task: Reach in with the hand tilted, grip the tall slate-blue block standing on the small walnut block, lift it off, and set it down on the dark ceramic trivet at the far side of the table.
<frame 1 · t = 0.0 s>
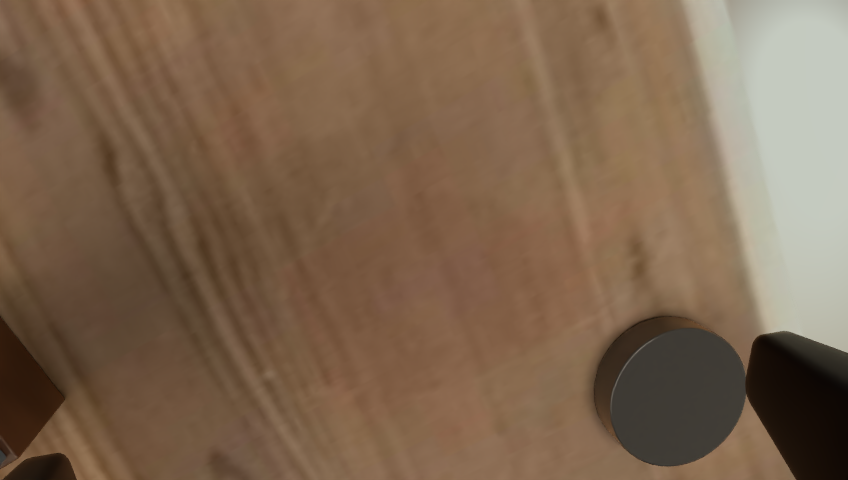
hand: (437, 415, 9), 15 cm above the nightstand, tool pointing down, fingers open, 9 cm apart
trivet: (659, 383, 27), on the nightstand
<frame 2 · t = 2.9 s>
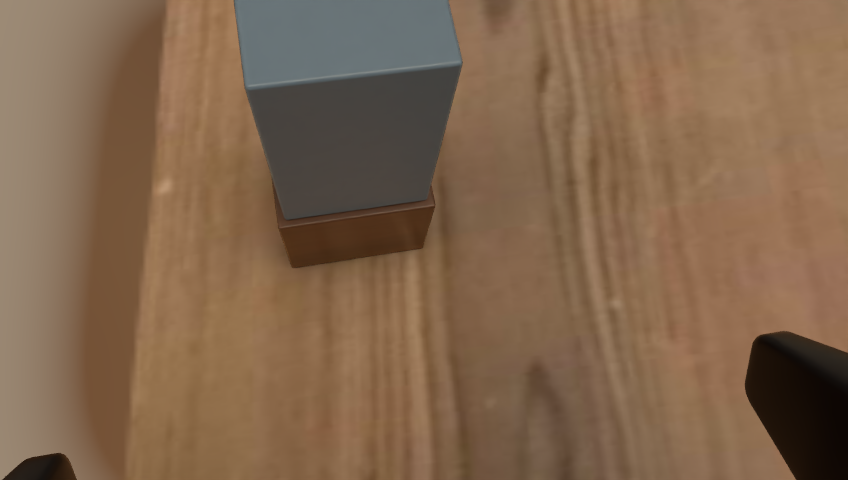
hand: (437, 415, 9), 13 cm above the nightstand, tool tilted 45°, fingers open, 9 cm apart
top block: (346, 146, 20), point 4 cm above the nightstand, touching base block
base block: (348, 197, 23), on the nightstand, touching top block
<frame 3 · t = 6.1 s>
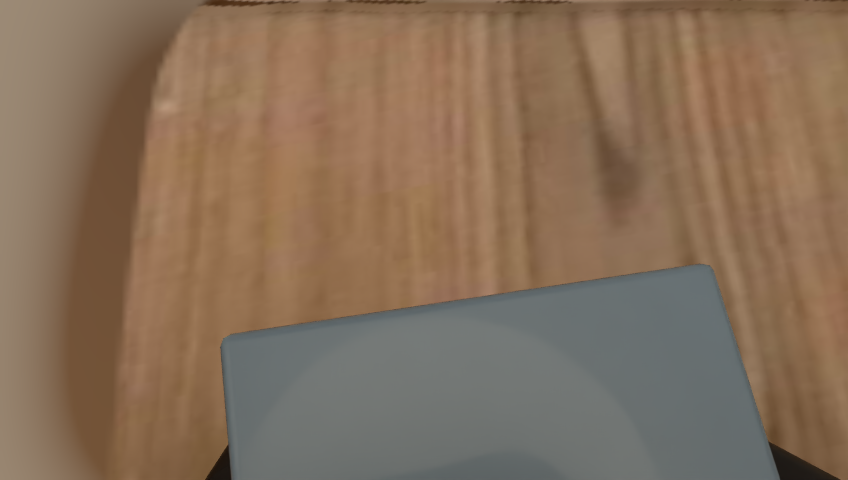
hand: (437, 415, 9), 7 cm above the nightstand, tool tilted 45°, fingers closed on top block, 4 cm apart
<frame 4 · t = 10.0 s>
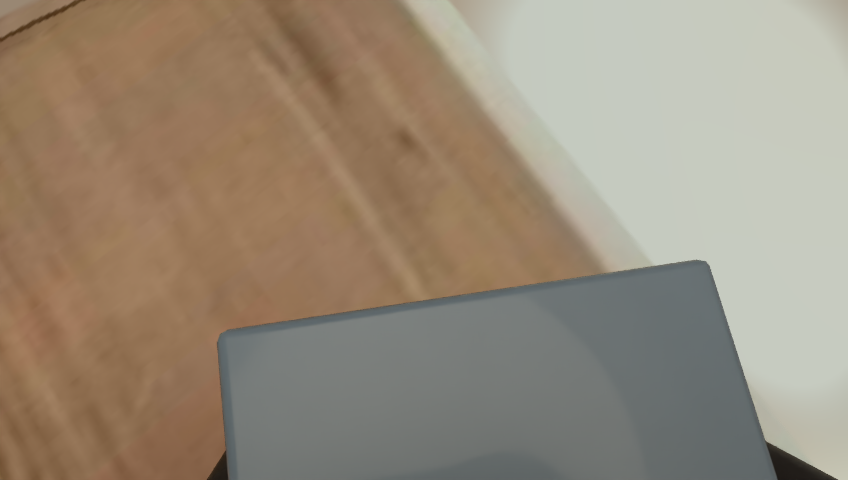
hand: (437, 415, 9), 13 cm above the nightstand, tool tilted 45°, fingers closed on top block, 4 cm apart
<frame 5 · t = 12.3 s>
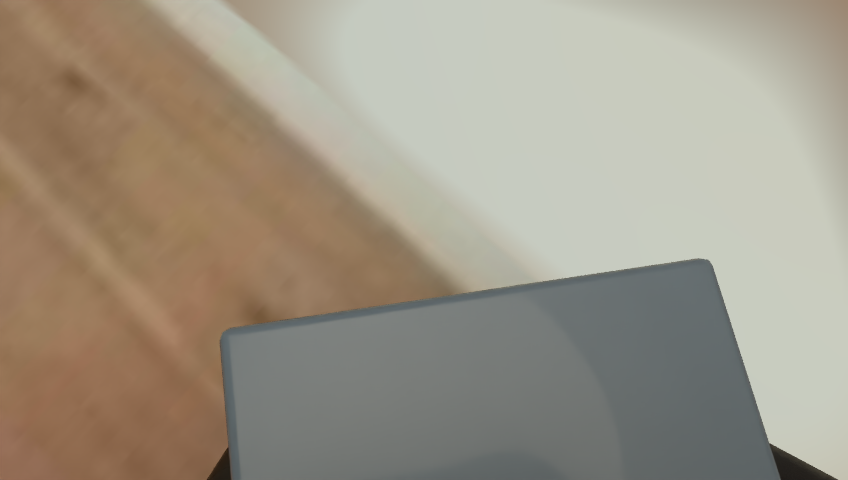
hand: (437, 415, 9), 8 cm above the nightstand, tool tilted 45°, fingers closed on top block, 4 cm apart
when the fingers open (5 cm above the nightstand, at t = 13.8 s): top block stays where it is, resting on trivet.
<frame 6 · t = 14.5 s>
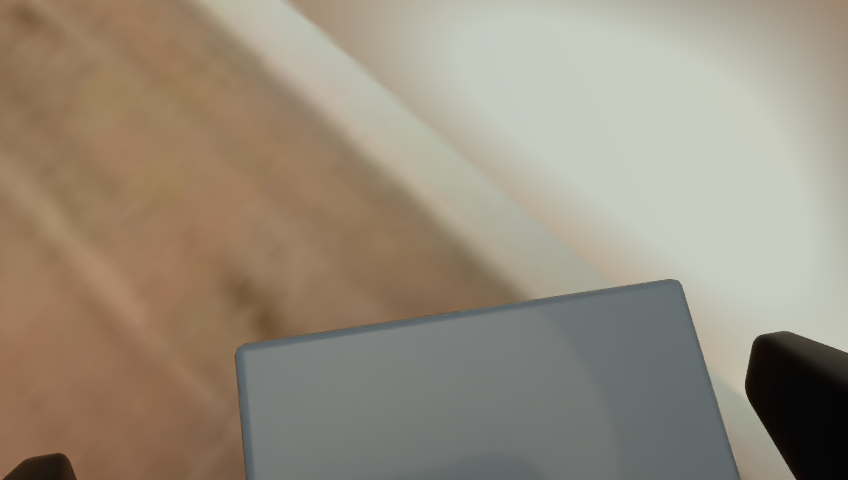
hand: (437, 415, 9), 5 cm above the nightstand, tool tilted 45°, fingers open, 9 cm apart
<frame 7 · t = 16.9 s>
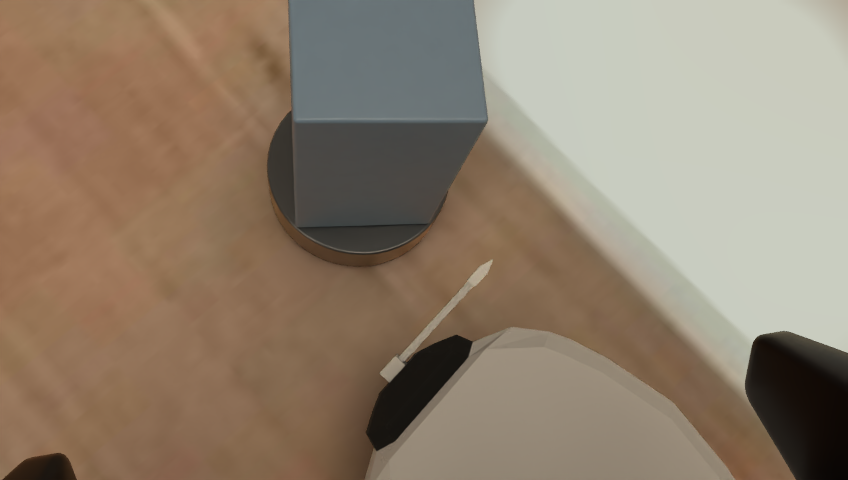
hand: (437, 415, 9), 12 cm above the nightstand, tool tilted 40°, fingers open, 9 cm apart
top block: (359, 164, 21), point 1 cm above the nightstand, touching trivet
trivet: (356, 183, 22), on the nightstand
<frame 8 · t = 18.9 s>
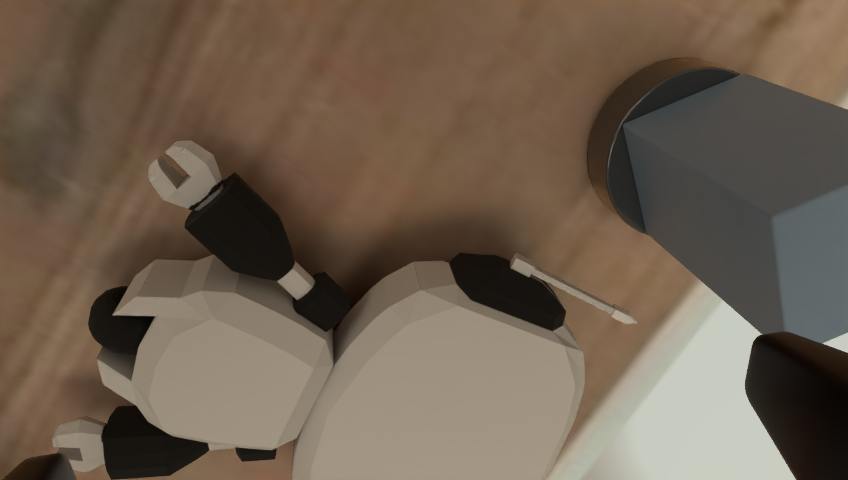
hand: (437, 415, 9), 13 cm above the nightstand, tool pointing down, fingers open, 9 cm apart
top block: (692, 156, 21), point 1 cm above the nightstand, touching trivet
trivet: (666, 143, 23), on the nightstand
robot toy: (333, 338, 24), on the nightstand
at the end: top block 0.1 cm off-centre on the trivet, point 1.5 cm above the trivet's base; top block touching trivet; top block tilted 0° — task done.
